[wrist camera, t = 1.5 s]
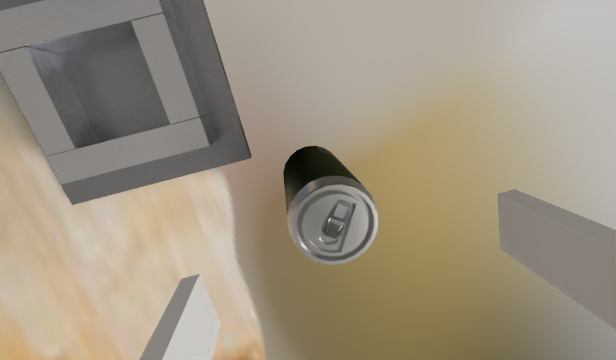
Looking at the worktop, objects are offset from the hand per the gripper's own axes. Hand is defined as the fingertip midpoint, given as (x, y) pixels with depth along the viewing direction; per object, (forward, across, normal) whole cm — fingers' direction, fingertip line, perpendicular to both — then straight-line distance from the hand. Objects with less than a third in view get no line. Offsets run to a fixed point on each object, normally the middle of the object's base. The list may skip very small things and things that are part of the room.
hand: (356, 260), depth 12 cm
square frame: (+16, +13, -11) cm, 23 cm away
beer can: (+16, 0, 0) cm, 16 cm away
